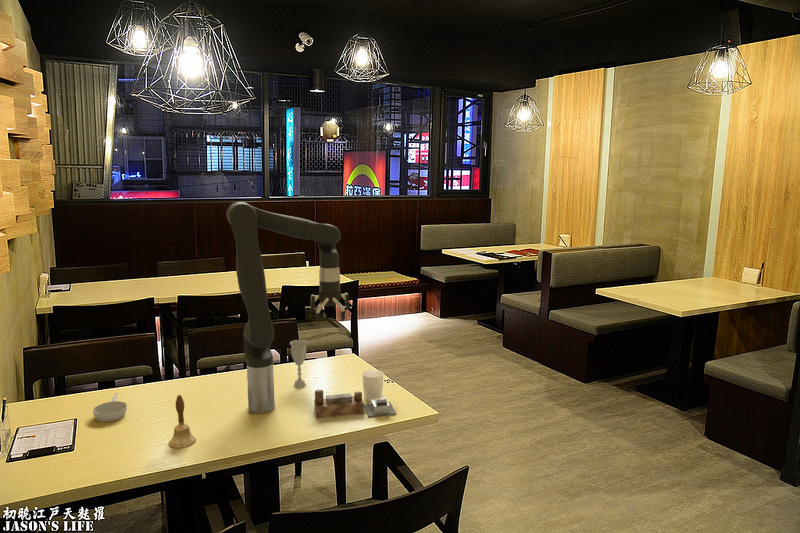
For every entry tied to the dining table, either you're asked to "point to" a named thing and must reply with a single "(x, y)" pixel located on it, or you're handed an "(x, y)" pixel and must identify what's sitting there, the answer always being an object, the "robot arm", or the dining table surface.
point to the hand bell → (181, 429)
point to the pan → (110, 410)
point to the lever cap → (379, 405)
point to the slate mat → (371, 414)
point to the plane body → (338, 404)
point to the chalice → (299, 359)
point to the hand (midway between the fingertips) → (330, 321)
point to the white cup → (372, 383)
